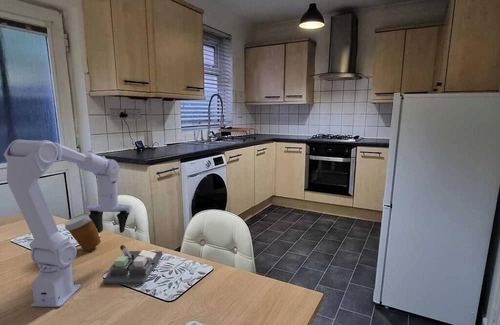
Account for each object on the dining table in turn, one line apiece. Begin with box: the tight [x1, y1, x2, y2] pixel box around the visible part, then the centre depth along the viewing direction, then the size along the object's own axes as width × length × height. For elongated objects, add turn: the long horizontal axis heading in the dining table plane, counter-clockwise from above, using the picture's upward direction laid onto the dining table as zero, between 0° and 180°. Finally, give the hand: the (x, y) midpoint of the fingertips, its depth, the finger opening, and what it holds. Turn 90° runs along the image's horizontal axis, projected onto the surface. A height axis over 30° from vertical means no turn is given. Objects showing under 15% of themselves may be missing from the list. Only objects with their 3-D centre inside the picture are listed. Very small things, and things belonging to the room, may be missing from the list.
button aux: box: [133, 256, 147, 267], centre depth 91 cm, size 3×3×2 cm
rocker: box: [138, 249, 156, 260], centre depth 98 cm, size 4×5×1 cm
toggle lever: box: [119, 244, 132, 257], centre depth 97 cm, size 2×2×5 cm
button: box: [113, 255, 128, 267], centre depth 92 cm, size 3×3×2 cm
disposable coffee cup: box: [64, 211, 102, 251], centre depth 107 cm, size 10×10×12 cm
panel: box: [103, 250, 163, 286], centre depth 95 cm, size 18×12×3 cm
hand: (111, 231), depth 100 cm, fingers open, 7 cm apart
